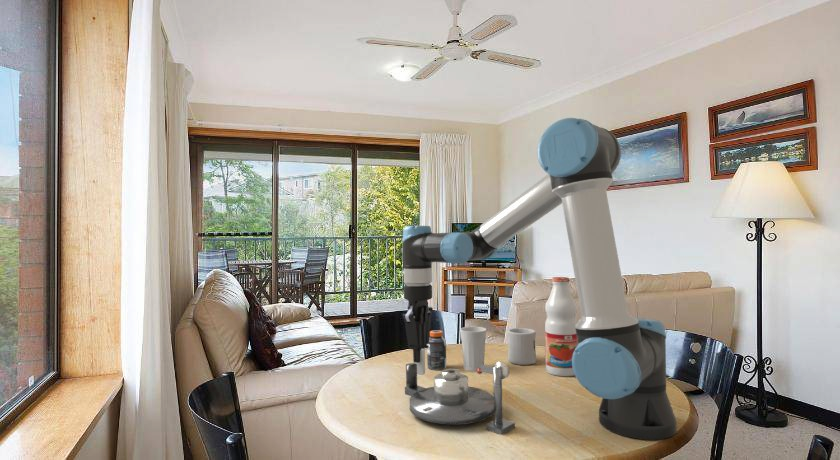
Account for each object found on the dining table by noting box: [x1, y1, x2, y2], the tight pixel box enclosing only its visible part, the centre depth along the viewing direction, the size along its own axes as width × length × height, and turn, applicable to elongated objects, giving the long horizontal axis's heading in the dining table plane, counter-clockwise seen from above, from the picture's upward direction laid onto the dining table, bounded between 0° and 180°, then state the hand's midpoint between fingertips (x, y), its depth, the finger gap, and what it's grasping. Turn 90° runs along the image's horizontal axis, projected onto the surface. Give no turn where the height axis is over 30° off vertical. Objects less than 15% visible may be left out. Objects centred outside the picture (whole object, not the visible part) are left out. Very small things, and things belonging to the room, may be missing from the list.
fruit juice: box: [544, 276, 578, 377], centre depth 139 cm, size 9×9×28 cm
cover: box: [433, 368, 469, 406], centre depth 110 cm, size 8×8×7 cm
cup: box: [459, 326, 487, 372], centre depth 145 cm, size 8×8×12 cm
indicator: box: [476, 361, 516, 436], centre depth 102 cm, size 8×5×14 cm, turn 45°
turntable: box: [404, 362, 494, 425], centre depth 112 cm, size 25×20×7 cm
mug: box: [507, 327, 537, 366], centre depth 153 cm, size 12×9×10 cm
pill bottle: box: [426, 329, 447, 371], centre depth 146 cm, size 6×6×11 cm
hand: (419, 373), depth 124 cm, fingers closed
